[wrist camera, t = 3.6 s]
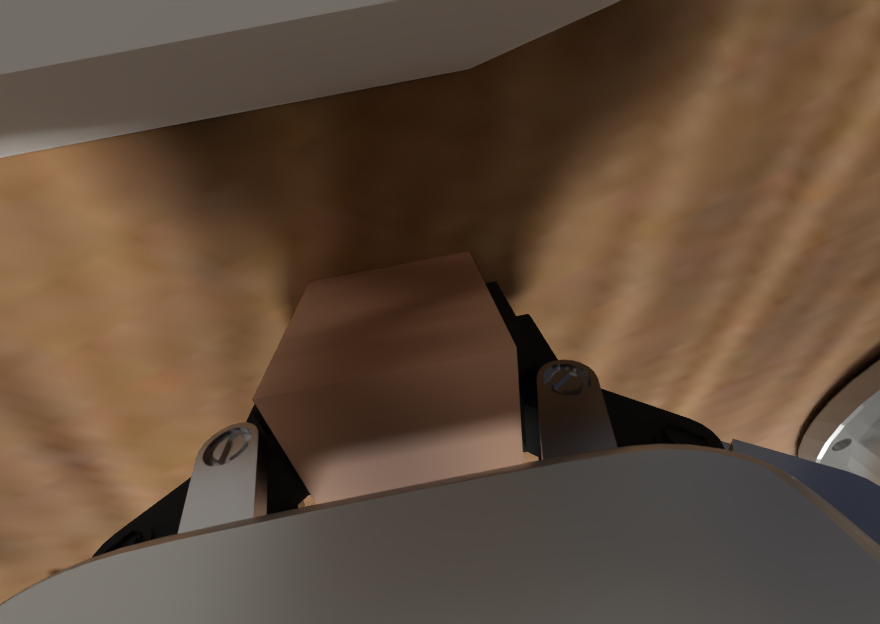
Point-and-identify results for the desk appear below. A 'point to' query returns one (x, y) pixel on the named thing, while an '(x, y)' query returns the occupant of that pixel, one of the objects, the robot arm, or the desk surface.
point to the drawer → (232, 56)
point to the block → (394, 380)
